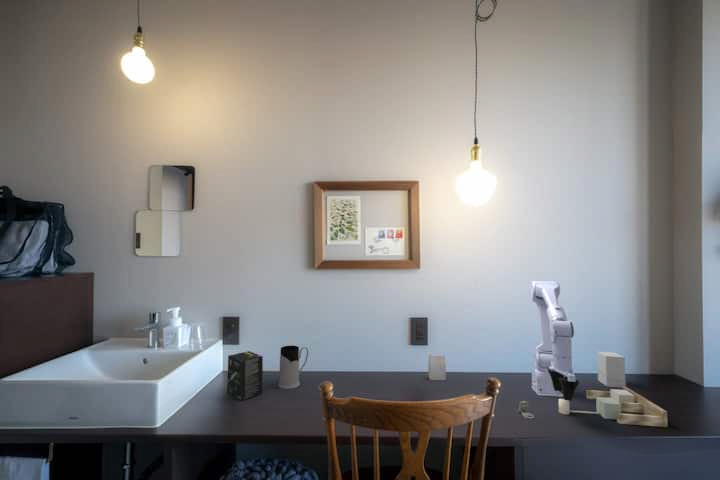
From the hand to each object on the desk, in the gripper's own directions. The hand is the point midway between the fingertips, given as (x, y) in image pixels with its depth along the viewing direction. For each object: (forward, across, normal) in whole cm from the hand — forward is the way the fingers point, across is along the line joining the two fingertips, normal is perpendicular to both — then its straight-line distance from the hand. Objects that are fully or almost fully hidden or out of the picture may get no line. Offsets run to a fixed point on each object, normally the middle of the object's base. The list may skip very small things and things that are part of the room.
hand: (562, 395), depth 115 cm
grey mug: (+6, -11, -100) cm, 101 cm away
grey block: (+6, -9, +24) cm, 27 cm away
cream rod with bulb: (+6, 0, +8) cm, 10 cm away
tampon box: (+6, +3, -116) cm, 116 cm away
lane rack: (+6, -5, +22) cm, 23 cm away
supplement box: (+6, -32, +32) cm, 46 cm away
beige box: (+6, -26, -40) cm, 48 cm away
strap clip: (+6, +2, -14) cm, 15 cm away
